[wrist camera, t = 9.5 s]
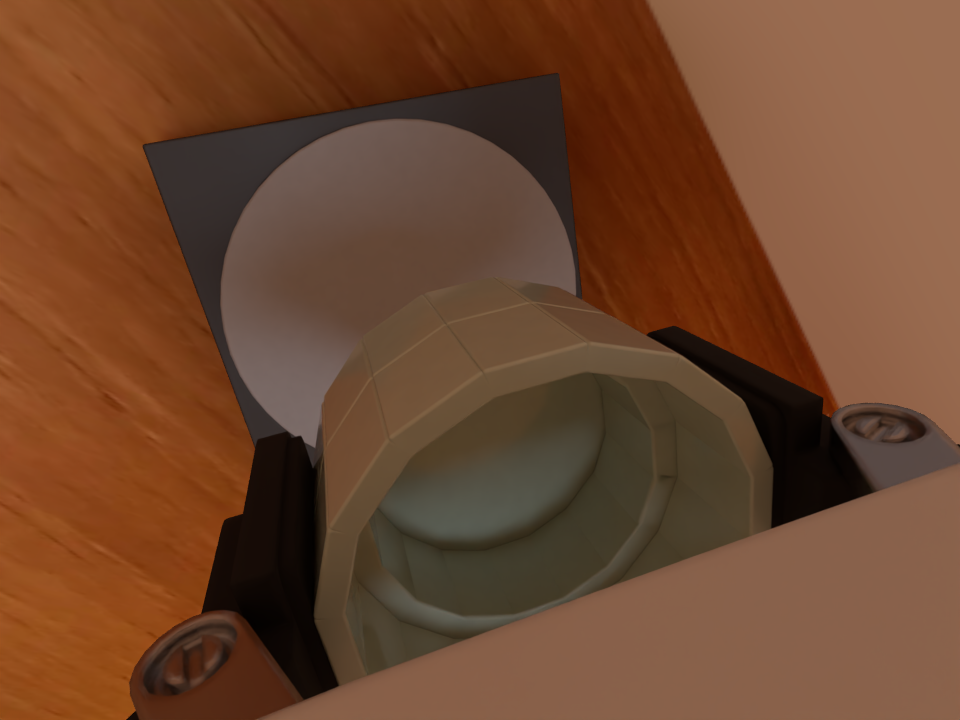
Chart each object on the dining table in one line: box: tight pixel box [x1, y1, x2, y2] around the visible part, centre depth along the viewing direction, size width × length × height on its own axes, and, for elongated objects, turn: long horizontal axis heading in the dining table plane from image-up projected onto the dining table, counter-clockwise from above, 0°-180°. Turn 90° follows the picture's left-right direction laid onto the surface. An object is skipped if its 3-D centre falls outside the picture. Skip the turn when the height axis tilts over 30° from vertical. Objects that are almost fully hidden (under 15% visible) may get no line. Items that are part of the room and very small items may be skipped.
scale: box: [143, 73, 582, 467], centre depth 23 cm, size 14×14×4 cm
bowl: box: [313, 277, 774, 686], centre depth 10 cm, size 7×7×4 cm
